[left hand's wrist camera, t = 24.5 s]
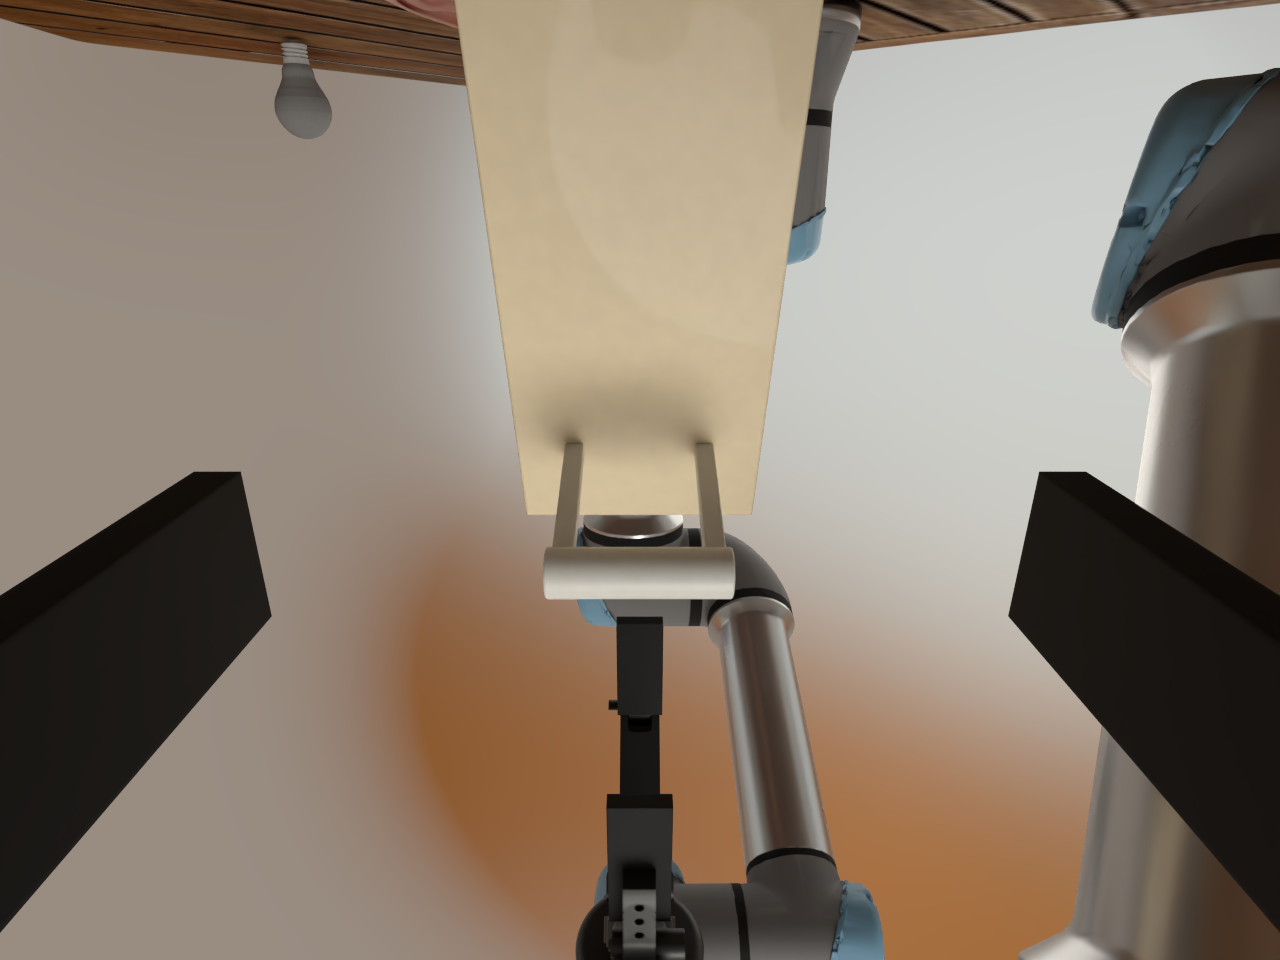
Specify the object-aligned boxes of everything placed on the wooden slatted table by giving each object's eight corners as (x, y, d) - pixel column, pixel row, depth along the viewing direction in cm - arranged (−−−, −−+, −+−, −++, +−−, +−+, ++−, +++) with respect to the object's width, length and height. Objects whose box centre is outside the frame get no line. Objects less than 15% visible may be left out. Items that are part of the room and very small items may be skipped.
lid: (749, 501, 31) (775, 659, 25) (528, 501, 31) (502, 659, 25) (819, -16, 19) (900, 54, 13) (458, -16, 19) (377, 54, 13)
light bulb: (311, 35, 79) (325, 137, 83) (329, 45, 85) (342, 140, 89) (254, 34, 79) (271, 137, 83) (275, 44, 85) (291, 140, 88)
